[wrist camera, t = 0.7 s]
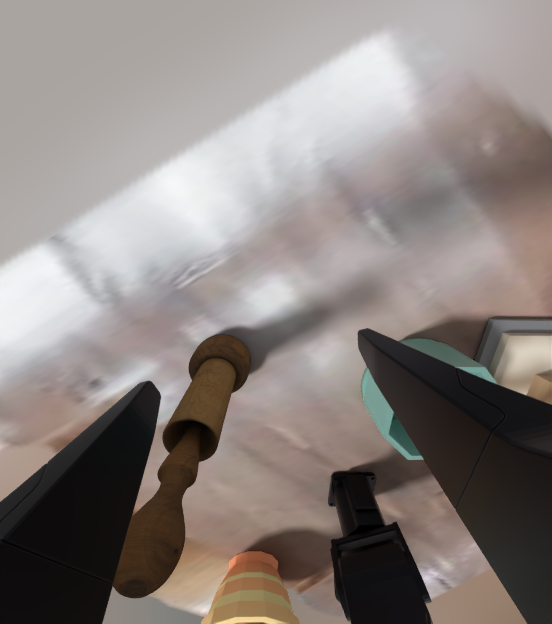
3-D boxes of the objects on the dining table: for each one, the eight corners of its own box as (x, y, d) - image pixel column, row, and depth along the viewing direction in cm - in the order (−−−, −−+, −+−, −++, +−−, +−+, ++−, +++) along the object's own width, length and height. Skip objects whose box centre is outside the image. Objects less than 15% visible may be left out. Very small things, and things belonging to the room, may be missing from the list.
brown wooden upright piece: (213, 323, 25) (83, 518, 8) (261, 352, 26) (244, 574, 9) (185, 366, 26) (25, 606, 9) (231, 391, 28) (168, 642, 10)
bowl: (442, 418, 30) (482, 460, 24) (354, 418, 30) (374, 461, 24) (468, 337, 26) (523, 365, 20) (368, 336, 26) (395, 364, 20)
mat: (567, 432, 31) (572, 436, 30) (449, 433, 31) (452, 437, 30) (631, 319, 26) (639, 321, 25) (489, 318, 25) (494, 320, 25)
